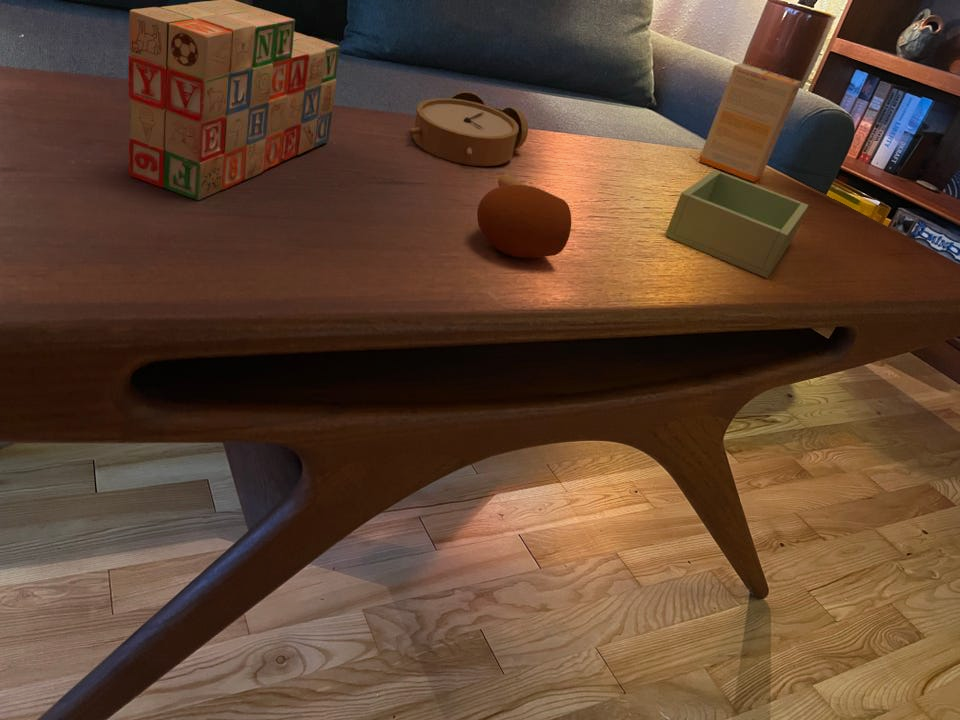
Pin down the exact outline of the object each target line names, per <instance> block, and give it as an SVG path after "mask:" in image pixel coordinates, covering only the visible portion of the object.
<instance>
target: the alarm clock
mask: <svg viewBox="0 0 960 720" xmlns="http://www.w3.org/2000/svg"><path fill="white" fill-rule="evenodd" d="M408 131H409V134H412V138H413V141H414V142H415V144H416V145H418V146H419V147H420V148H421V149H422V150H424V151H425V152H426V153H427V152H428V153H429V154H431V155H434V156H436V157H437V158H441V159H444V160H447V161H450V162H453V163H458V164H463V165H467V166H479V167H491V166H500V165H503V164H507V163H509V161H511V159H512V158H513V156H514V151H516V150H518V149H519V148H521V147H522V146H523V145H524V144H525V142H526V140H527V138H528V135H529V134H528V133H529V125H528V121H527V117H526V116H525V115H524V114H523V113H522V112H521V110H519V109H517V108H514V107H505V108H504V109H502V108H499V107H495V106H491V105H486V104H485V102H484V101H483V99H482V98H481V97H480V96H479V95H478V94H476V93H475V92H472V91H461V92H458V93H456V94H455V95H453V96H452V97H450V98H449V97H445V98H444V97H439V98H438V97H437V98H429V99H425V100H423V101H421V102H419V103H418V104H417V107H416V116H415V123H414V127H412V128H410V129H409V130H408Z"/></svg>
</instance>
